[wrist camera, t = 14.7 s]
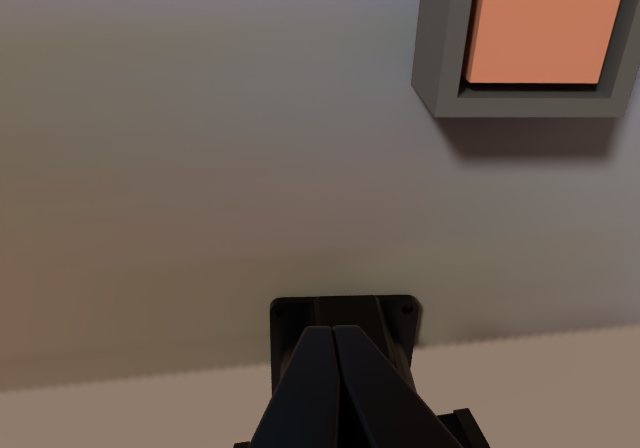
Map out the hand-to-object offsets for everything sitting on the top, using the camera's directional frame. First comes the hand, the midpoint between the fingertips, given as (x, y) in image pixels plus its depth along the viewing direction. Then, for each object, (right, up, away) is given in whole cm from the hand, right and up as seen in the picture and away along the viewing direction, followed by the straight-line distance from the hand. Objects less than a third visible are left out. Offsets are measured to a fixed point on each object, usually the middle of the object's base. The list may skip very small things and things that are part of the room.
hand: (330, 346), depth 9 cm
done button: (+6, +9, +9) cm, 14 cm away
